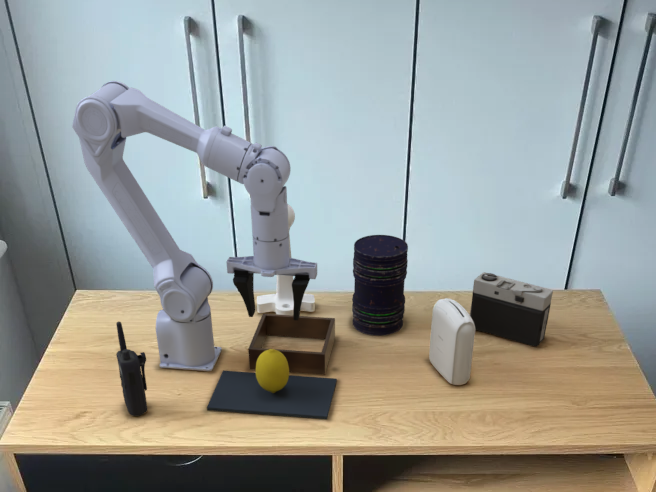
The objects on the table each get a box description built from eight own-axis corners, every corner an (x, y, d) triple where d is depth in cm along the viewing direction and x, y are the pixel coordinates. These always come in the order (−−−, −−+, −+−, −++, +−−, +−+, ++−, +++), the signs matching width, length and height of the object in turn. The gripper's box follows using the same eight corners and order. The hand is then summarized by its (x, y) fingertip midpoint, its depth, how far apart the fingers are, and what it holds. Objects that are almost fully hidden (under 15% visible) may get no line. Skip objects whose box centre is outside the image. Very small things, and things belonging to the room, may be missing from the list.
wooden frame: (249, 369, 151) (248, 349, 148) (264, 333, 160) (262, 313, 157) (325, 375, 149) (324, 354, 147) (335, 338, 159) (335, 318, 156)
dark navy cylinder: (346, 332, 161) (347, 253, 150) (357, 309, 167) (359, 232, 157) (399, 338, 159) (404, 259, 149) (407, 314, 166) (412, 237, 156)
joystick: (314, 303, 169) (312, 198, 155) (315, 321, 164) (314, 214, 150) (257, 304, 169) (251, 199, 155) (257, 322, 163) (250, 215, 149)
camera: (553, 330, 162) (563, 279, 155) (536, 348, 157) (545, 296, 150) (485, 312, 167) (492, 261, 160) (467, 328, 162) (473, 277, 155)
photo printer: (425, 359, 154) (430, 293, 145) (446, 355, 155) (453, 289, 146) (449, 388, 147) (457, 320, 138) (472, 383, 148) (481, 316, 139)
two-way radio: (123, 402, 143) (107, 318, 132) (150, 397, 144) (136, 313, 133) (130, 420, 139) (114, 334, 129) (157, 414, 140) (143, 329, 130)
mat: (207, 410, 141) (206, 407, 141) (223, 373, 150) (222, 370, 149) (327, 419, 139) (327, 416, 139) (336, 381, 148) (336, 378, 148)
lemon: (277, 404, 141) (275, 361, 136) (250, 395, 143) (247, 351, 138) (296, 389, 145) (295, 346, 139) (269, 380, 147) (267, 337, 141)
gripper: (219, 242, 133) (226, 323, 142) (311, 248, 131) (313, 330, 141) (229, 224, 138) (236, 304, 147) (319, 230, 136) (319, 310, 146)
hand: (274, 315), depth 144 cm, fingers open, 7 cm apart
